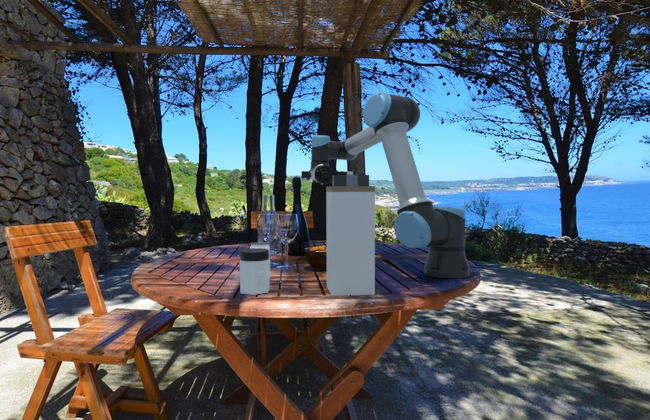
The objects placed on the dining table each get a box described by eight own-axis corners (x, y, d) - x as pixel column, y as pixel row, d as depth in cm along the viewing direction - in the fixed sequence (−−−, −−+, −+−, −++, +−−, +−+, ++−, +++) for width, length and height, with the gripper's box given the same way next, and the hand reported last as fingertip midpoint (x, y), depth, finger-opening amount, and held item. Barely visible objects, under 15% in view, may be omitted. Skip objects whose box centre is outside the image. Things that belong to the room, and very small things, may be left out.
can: (274, 279, 140) (273, 242, 140) (261, 283, 135) (260, 244, 134) (259, 277, 144) (258, 241, 143) (245, 280, 138) (245, 243, 138)
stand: (326, 286, 130) (326, 186, 128) (365, 285, 131) (365, 186, 130) (331, 296, 118) (331, 186, 117) (374, 294, 119) (375, 186, 118)
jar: (246, 296, 117) (245, 253, 117) (234, 291, 124) (234, 249, 124) (275, 292, 122) (275, 250, 122) (263, 287, 129) (262, 247, 129)
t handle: (325, 186, 139) (325, 176, 138) (356, 186, 140) (356, 176, 140) (334, 186, 119) (334, 174, 119) (369, 186, 120) (369, 174, 120)
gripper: (353, 183, 173) (367, 186, 152) (291, 183, 169) (297, 186, 148) (354, 164, 172) (368, 165, 151) (291, 164, 168) (297, 164, 147)
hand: (333, 175), depth 150 cm, fingers open, 13 cm apart
